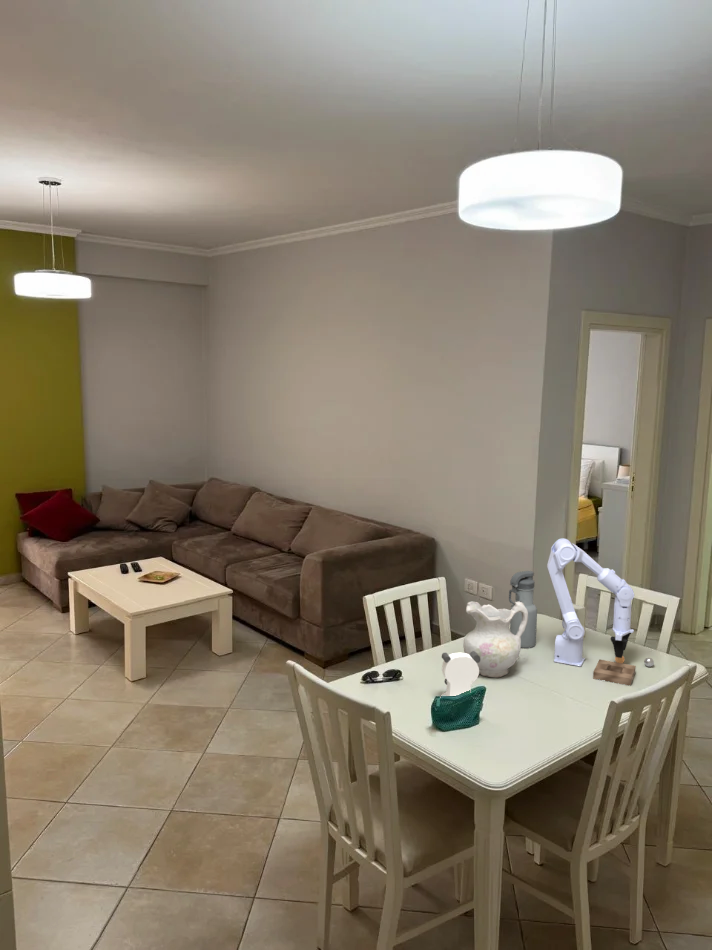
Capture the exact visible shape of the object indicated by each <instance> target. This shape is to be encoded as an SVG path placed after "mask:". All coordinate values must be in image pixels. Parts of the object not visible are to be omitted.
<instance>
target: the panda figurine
mask: <svg viewBox="0 0 712 950" xmlns="http://www.w3.org/2000/svg"><path fill="white" fill-rule="evenodd" d="M441 658H442V659H443V662H442V665H441V672H442V675H443V677H444V678H445V679H444V684H445V685H446V691H445V692H443V693H442V694H441V695H440V697H441V696H442V695H446V696H456V695H459V694H461V693H464V692H466V691H469V690H470V691H471V690H472V689H471V688H472V684H473V683H474V682H475V681H476V680H477V679H478V677H479V675H480V674H479V667H478V665H477V663H479V662H480V660H481V659H480V656H479V655H478V654H477V653H476V652H475V651H472V652H471V653H470V655H469V654H467V653H465V652H453V653H450V654H448V653H447V652H443V653H442V654H441Z"/></svg>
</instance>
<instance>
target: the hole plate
mask: <svg viewBox="0 0 712 950" xmlns="http://www.w3.org/2000/svg"><path fill="white" fill-rule="evenodd" d="M636 669H637V666H636V665H633V664H627V663H624V662H623V663H617V662H616V661H611V660H605V659H598V662H597V664H596V666H595V668H594V669H593V671H592V679H594V680H597V679H600V680H599V681H602V680H605V681H604V682H608V681H610V683H613V682H614V684H618V683H619V684H620V685H623V684H625V686H629V685H632V683H633V681H634V678H635V675H636V671H637V670H636Z"/></svg>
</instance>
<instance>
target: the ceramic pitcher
mask: <svg viewBox="0 0 712 950" xmlns="http://www.w3.org/2000/svg"><path fill="white" fill-rule="evenodd" d="M465 612H466V614H468V615H470V616H472V618H473V619H474V621H475V628H474V629H472V630H471V631H469V632H467V633H466V635H465V637H464V638H463V647H462V648H463V651H464V652H463V653H467V654H469V655H470V653H471V652H472V651H475V652H476V653H477V654H478V655H479V656H480V659H481V660H480V662H479V663H477V665H478V667H479V675H481V676H483V677H489V678H496V679H499V678H501V677H503V676H506V675H507V674H509V673H510V671H509V670H508V669H509V668H511V667H513V666H514V664H515V663H516V662H517V660H518V659H519V656H520V653H521V648H520V647H521V635H522V634H523V632H524V631H525V627H526V625H527V621H528V611H527V609H526V608H525V606H524V603H522V601H521V602H520V601H517V602H514V607H513V608H512V609H511V608H510V609H507V608H498V609H497V608H496V607H495V606H493V605H492V604H483V605H481V604H480V603H479V602H477V601H468V602H467V603H466V609H465ZM519 612H521V614H522V622H521V624H520V626H519V629H518V632H517V634H516V635H514V634H512V633H511V632H510V622H511V620H512V617H513V616H514V615H515V614H517V613H519Z"/></svg>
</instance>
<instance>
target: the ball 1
mask: <svg viewBox="0 0 712 950" xmlns="http://www.w3.org/2000/svg"><path fill="white" fill-rule="evenodd" d="M614 660H615V661H614V662H617V663H623V664H624V662H625V657H624V656H622V658H618V657H616V656H615V657H614Z"/></svg>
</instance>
